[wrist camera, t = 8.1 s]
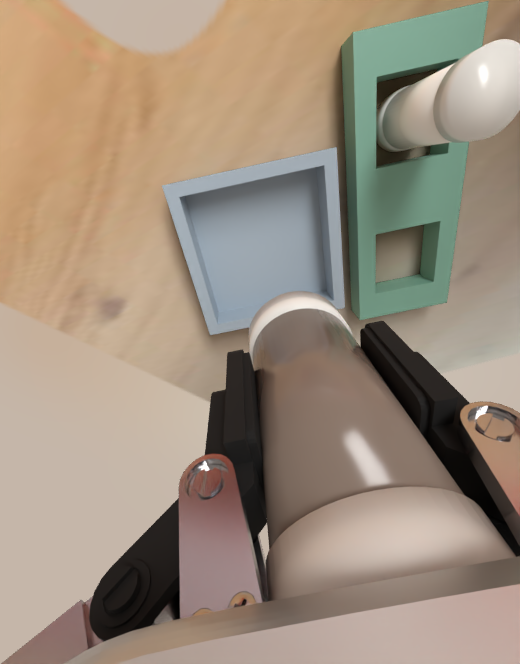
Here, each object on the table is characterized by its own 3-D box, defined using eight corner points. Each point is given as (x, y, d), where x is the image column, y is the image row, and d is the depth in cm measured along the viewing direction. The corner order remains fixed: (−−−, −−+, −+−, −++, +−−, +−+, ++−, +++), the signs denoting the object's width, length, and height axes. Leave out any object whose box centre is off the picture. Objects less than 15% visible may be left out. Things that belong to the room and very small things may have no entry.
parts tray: (171, 183, 25) (162, 185, 22) (324, 149, 25) (336, 147, 22) (212, 319, 32) (210, 335, 29) (334, 294, 31) (344, 307, 28)
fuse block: (341, 46, 22) (353, 32, 19) (462, 17, 21) (488, 0, 19) (351, 310, 32) (359, 320, 30) (432, 293, 32) (446, 302, 30)
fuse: (373, 96, 23) (455, 49, 14) (425, 84, 23) (541, 30, 14) (373, 156, 25) (445, 147, 16) (421, 146, 25) (519, 132, 16)
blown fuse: (238, 302, 12) (246, 651, 3) (339, 281, 12) (623, 586, 3) (258, 380, 14) (295, 723, 5) (344, 363, 14) (525, 686, 5)
